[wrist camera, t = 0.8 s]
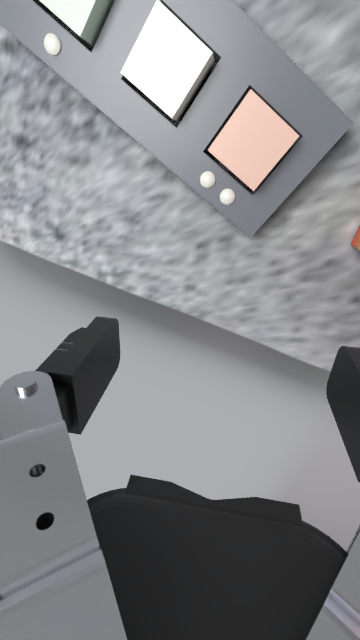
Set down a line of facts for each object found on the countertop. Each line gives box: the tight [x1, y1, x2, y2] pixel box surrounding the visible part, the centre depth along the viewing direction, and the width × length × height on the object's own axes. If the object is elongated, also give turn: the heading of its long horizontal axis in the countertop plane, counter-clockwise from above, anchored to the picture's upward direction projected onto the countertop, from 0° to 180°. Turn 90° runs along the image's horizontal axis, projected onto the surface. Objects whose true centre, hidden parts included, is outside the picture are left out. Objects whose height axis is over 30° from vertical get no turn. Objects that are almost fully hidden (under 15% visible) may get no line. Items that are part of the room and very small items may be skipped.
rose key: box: [208, 89, 299, 191], centre depth 27 cm, size 5×5×3 cm
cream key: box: [120, 0, 215, 122], centre depth 26 cm, size 5×5×3 cm
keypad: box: [0, 0, 353, 238], centre depth 27 cm, size 12×29×3 cm, turn 53°
